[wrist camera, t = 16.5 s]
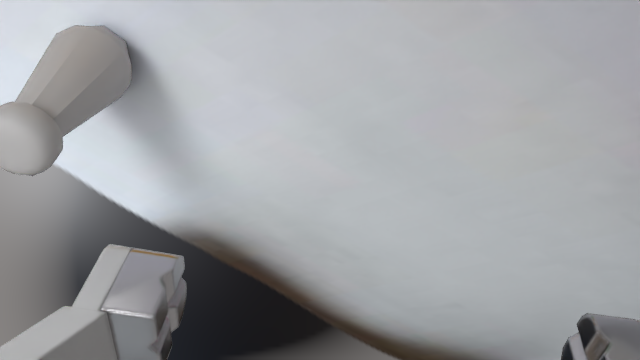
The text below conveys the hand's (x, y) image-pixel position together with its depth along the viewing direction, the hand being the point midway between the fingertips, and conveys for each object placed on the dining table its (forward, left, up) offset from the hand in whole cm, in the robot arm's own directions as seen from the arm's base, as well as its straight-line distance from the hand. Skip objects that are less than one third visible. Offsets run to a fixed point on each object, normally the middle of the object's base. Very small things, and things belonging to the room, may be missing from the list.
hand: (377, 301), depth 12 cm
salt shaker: (+11, -19, -30) cm, 37 cm away
